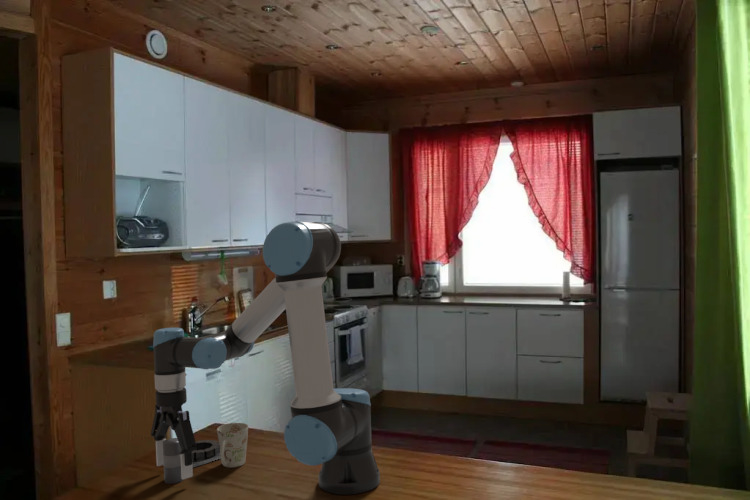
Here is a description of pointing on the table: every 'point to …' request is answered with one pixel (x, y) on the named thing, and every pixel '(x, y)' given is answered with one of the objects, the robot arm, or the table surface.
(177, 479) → the lens
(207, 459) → the mount
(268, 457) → the table surface
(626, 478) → the table surface
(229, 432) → the mug
